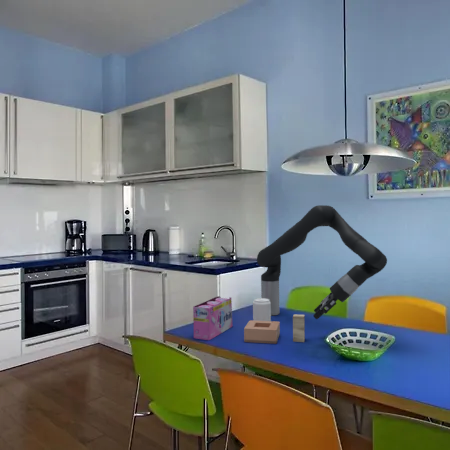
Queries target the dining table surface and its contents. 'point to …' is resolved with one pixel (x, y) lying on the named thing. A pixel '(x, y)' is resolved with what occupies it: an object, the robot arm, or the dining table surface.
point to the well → (262, 332)
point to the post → (298, 328)
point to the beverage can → (261, 309)
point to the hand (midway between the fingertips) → (315, 314)
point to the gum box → (212, 318)
